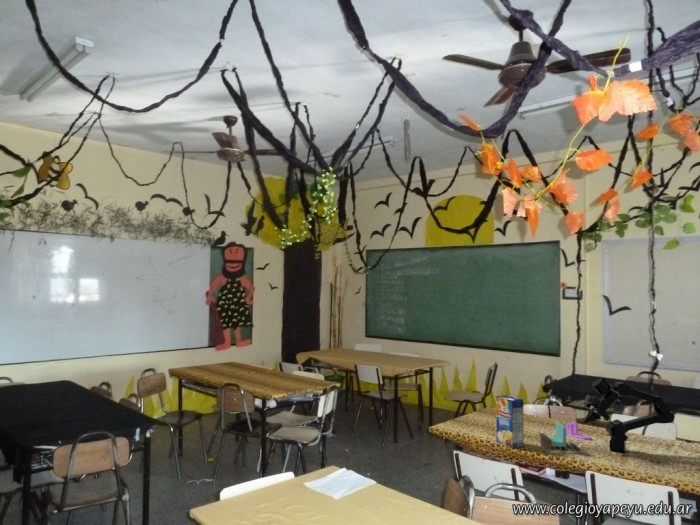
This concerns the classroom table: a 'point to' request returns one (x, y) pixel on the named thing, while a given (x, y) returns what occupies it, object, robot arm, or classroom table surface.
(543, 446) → the roller track
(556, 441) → the teal l-shaped block
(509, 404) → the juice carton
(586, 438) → the bracket
